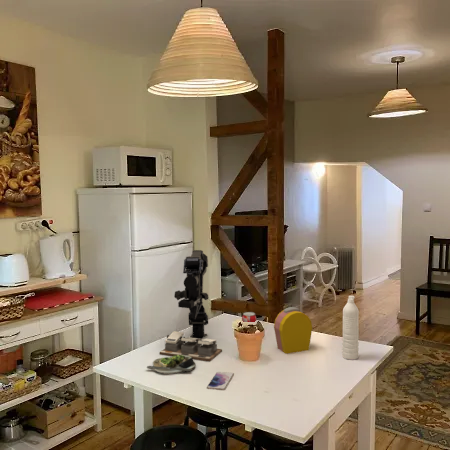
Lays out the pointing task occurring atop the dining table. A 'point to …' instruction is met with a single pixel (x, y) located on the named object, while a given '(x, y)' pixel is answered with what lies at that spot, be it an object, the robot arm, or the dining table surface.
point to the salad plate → (173, 364)
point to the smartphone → (220, 381)
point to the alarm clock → (292, 331)
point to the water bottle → (350, 330)
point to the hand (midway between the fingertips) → (194, 318)
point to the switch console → (192, 350)
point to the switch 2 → (206, 341)
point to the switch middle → (189, 339)
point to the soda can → (249, 317)
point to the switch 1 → (174, 337)
